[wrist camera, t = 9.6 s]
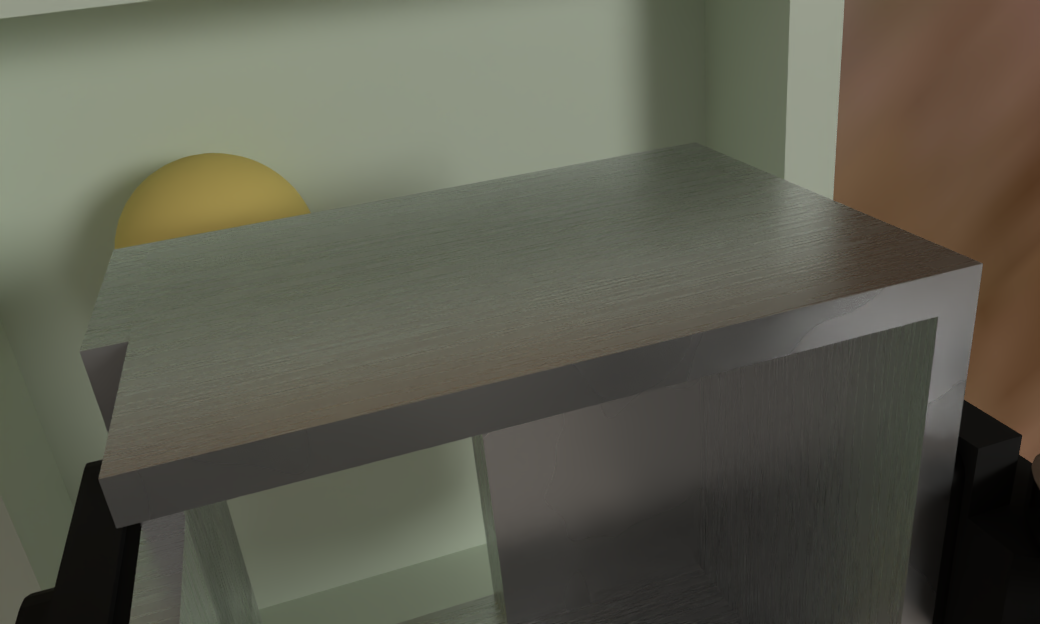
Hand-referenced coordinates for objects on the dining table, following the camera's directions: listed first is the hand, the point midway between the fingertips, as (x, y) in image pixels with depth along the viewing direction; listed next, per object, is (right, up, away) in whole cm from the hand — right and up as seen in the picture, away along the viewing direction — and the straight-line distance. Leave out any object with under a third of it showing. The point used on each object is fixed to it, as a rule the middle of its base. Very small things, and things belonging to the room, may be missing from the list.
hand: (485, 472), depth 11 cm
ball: (-5, +2, +3) cm, 6 cm away
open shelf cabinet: (0, 0, +1) cm, 1 cm away
